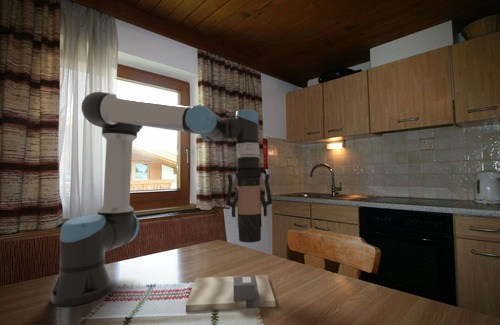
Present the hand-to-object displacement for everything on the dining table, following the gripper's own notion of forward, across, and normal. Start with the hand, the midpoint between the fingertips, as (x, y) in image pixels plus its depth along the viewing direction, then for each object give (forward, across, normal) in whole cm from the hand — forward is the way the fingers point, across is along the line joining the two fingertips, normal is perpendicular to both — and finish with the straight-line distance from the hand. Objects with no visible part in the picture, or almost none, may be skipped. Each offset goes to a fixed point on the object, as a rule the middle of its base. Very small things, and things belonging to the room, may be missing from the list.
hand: (249, 226), depth 81 cm
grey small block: (+17, -2, -9) cm, 20 cm away
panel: (+19, -6, -4) cm, 20 cm away
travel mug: (+4, 0, 0) cm, 4 cm away
